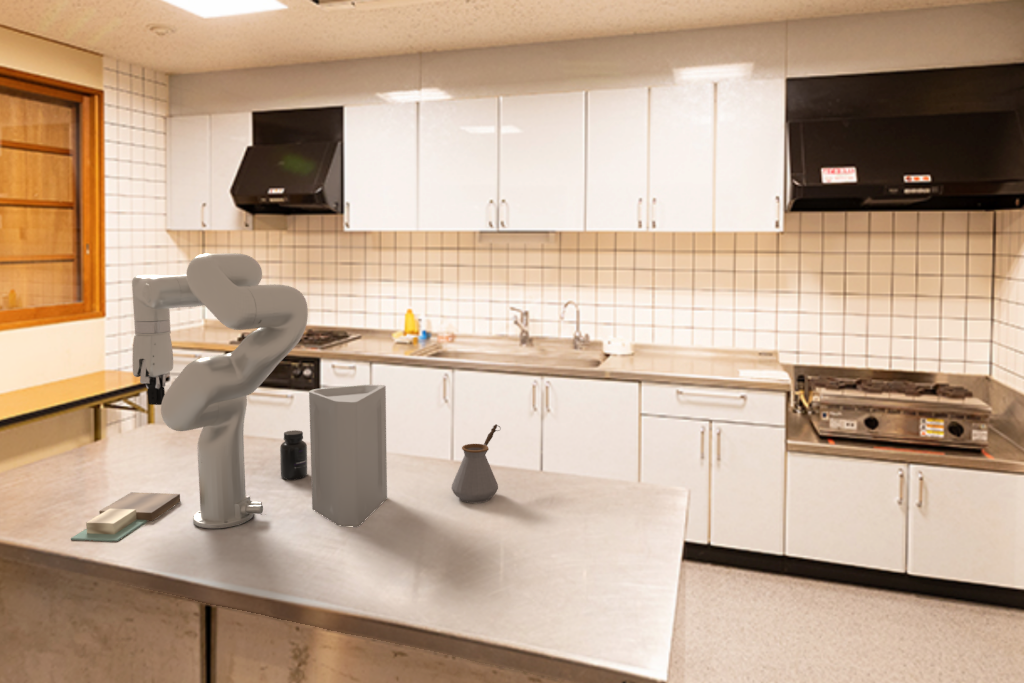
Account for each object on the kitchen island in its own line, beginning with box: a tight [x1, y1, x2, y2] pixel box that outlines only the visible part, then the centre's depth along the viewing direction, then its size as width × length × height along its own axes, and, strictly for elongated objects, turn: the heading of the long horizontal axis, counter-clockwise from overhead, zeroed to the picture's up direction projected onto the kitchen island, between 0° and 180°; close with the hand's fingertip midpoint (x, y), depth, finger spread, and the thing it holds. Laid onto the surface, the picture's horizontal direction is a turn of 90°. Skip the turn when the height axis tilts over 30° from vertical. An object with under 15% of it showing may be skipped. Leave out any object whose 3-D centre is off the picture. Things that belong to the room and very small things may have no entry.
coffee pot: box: [451, 424, 502, 504], centre depth 178 cm, size 21×12×15 cm, turn 161°
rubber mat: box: [70, 520, 148, 542], centre depth 152 cm, size 10×11×1 cm
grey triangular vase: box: [308, 384, 388, 528], centre depth 164 cm, size 19×15×28 cm
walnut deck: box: [98, 491, 181, 522], centre depth 163 cm, size 12×12×2 cm
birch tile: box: [85, 509, 137, 534], centre depth 153 cm, size 6×8×2 cm
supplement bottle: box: [279, 429, 308, 481], centre depth 188 cm, size 7×7×12 cm
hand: (156, 403), depth 169 cm, fingers closed
